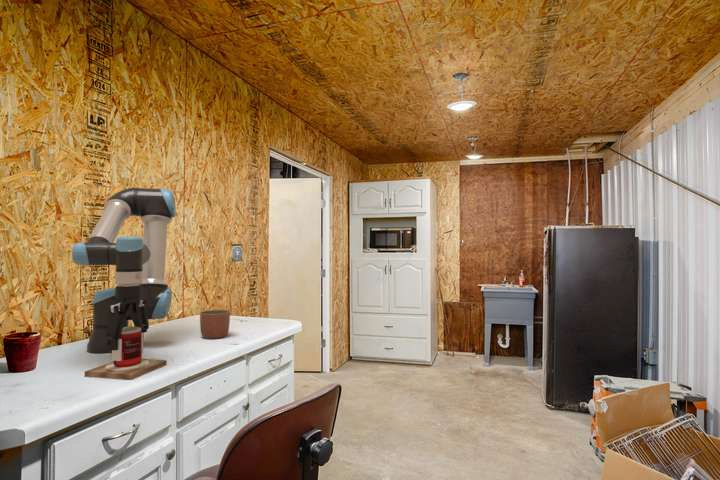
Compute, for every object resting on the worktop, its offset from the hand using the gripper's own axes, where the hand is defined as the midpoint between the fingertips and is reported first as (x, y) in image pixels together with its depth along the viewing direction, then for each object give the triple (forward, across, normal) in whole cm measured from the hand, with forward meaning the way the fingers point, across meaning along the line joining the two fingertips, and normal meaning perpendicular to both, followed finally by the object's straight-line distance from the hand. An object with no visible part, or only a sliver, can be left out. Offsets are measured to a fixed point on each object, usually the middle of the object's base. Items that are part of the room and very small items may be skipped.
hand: (127, 356), depth 129 cm
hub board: (+4, 0, 0) cm, 4 cm away
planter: (+5, +50, -1) cm, 50 cm away
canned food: (+2, 0, 0) cm, 2 cm away
